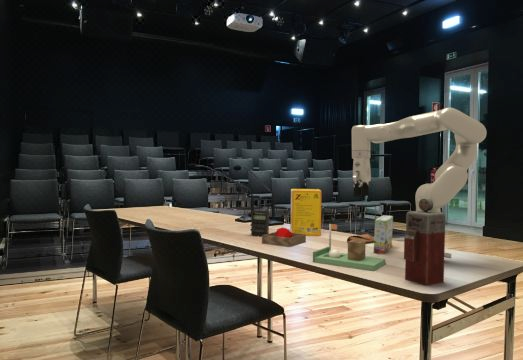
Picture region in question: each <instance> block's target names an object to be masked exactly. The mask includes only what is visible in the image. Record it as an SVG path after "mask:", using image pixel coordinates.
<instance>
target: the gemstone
mask: <svg viewBox="0 0 523 360" xmlns="http://www.w3.org/2000/svg"><path fill="white" fill-rule="evenodd" d="M275 232H276V237H285V238H291V237H292V233H291V232H290V229H289V228H286V227H283V226H282V227H279V228H277V229H276V231H275Z"/></svg>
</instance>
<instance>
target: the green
mask: <svg viewBox="0 0 523 360" xmlns="http://www.w3.org/2000/svg"><path fill="white" fill-rule="evenodd" d="M328 225H329V227H328V228H329V229H328V230H329V231H328V233H329V234H328V246H326V247H323V248H320V249H317V250H315V251H312V263H316V264H317V263H318V264H323V263H324V265H330V264H331V266H337V267H345V268H350V267H351V268H352V269H358V270H364V271H371V272H374V271H376V270H378V269H379V268H382V267H383V266H384V265H386V258H382V257H376V256H375V257H373V256H367V255H365V259H363V260H361V261H355V260H348V253H342V252H340V258H331V257H329V256H328V254H329V252H330V251H331V250H332V230H338V224H333V223H329V224H328ZM351 268H350V269H351Z"/></svg>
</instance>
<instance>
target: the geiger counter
mask: <svg viewBox="0 0 523 360" xmlns="http://www.w3.org/2000/svg"><path fill="white" fill-rule="evenodd" d="M250 213H251V215H250V216H251V218H250V219H251V220H250V221H251V222H250V226H251V227H250V231H251V234H250V236H251V237H261V238H262V235H265V234H269V233H270V231H269V229H270V227H269V226H270V211H269V209H268V208H266V210H255V208H254V207H252V210H251V212H250Z"/></svg>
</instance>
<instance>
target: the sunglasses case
mask: <svg viewBox="0 0 523 360" xmlns="http://www.w3.org/2000/svg"><path fill="white" fill-rule="evenodd" d="M351 240H362V241H366V243H365V245H369V244H374V236H372V235H371V234H370V233H364V234H358V235H349V236H348V238H346V243H347V244H348V241H351Z"/></svg>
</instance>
